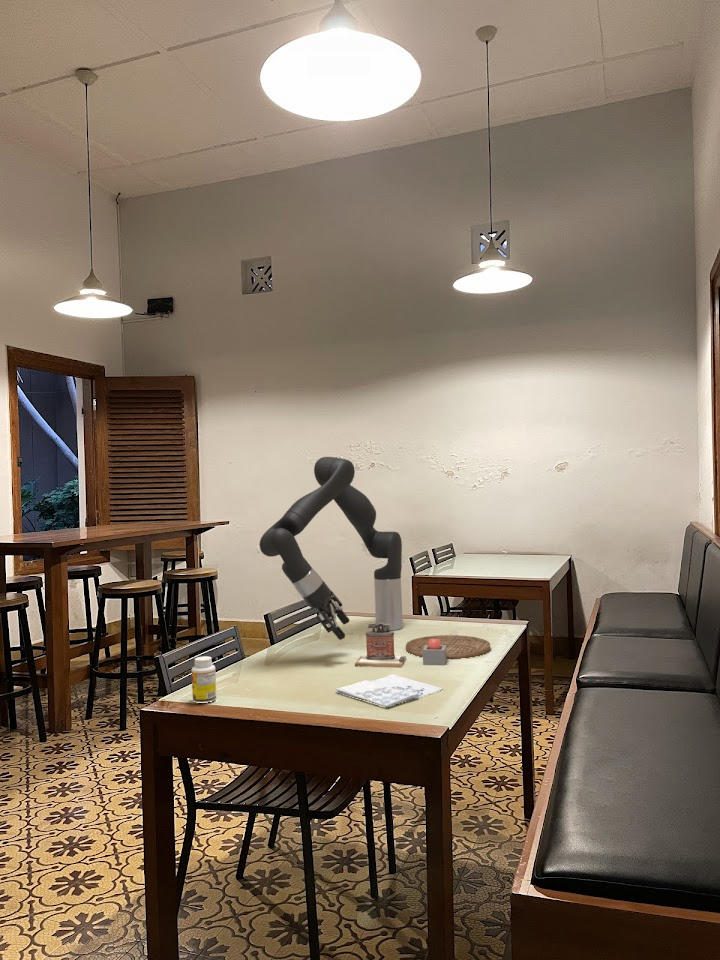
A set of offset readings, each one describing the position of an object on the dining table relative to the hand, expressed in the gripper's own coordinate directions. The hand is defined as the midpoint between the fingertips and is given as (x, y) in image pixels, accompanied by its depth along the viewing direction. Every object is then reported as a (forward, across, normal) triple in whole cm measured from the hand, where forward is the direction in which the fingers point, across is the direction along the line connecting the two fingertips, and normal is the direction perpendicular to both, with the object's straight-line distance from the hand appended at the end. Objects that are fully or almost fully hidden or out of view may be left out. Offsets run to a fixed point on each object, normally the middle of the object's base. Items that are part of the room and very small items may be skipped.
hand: (345, 630), depth 210 cm
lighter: (+10, -6, -6) cm, 13 cm away
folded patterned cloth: (+7, -33, -14) cm, 37 cm away
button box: (+19, -6, -18) cm, 27 cm away
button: (+17, -5, -19) cm, 27 cm away
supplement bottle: (-19, -41, +21) cm, 50 cm away
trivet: (+26, +8, -18) cm, 33 cm away
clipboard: (+11, -7, -6) cm, 14 cm away
